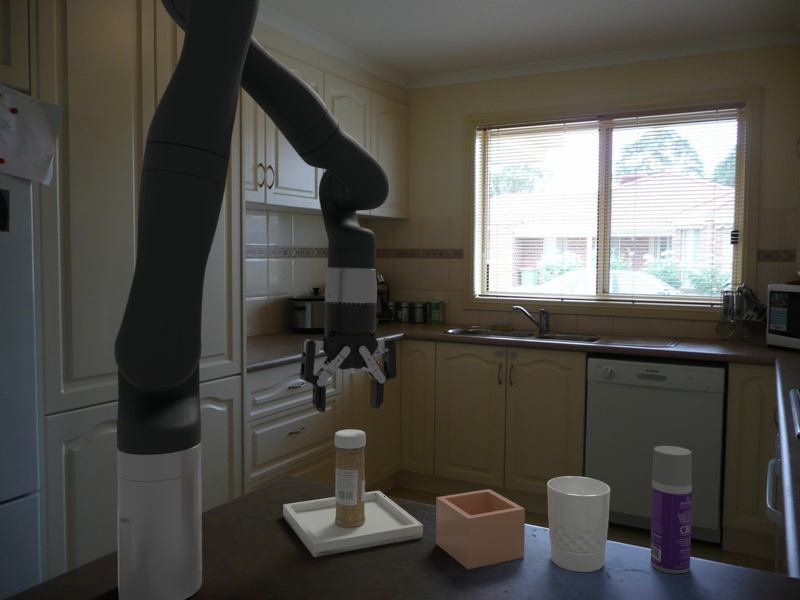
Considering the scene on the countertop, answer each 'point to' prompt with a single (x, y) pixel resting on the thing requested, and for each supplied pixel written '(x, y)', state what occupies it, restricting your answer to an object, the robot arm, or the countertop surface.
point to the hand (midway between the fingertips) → (348, 409)
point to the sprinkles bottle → (350, 477)
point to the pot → (480, 528)
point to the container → (671, 509)
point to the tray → (329, 538)
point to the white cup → (578, 522)
